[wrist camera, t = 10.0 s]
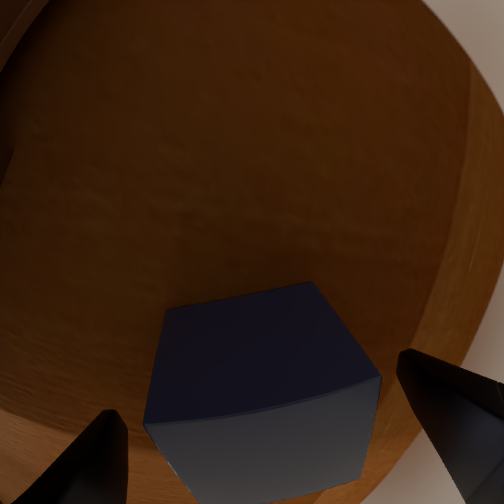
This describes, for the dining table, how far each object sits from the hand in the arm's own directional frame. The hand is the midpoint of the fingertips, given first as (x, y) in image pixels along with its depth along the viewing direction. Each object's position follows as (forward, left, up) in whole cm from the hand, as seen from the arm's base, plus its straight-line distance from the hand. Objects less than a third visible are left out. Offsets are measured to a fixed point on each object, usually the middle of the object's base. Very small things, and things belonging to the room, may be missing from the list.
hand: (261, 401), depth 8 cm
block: (0, 0, -2) cm, 2 cm away
